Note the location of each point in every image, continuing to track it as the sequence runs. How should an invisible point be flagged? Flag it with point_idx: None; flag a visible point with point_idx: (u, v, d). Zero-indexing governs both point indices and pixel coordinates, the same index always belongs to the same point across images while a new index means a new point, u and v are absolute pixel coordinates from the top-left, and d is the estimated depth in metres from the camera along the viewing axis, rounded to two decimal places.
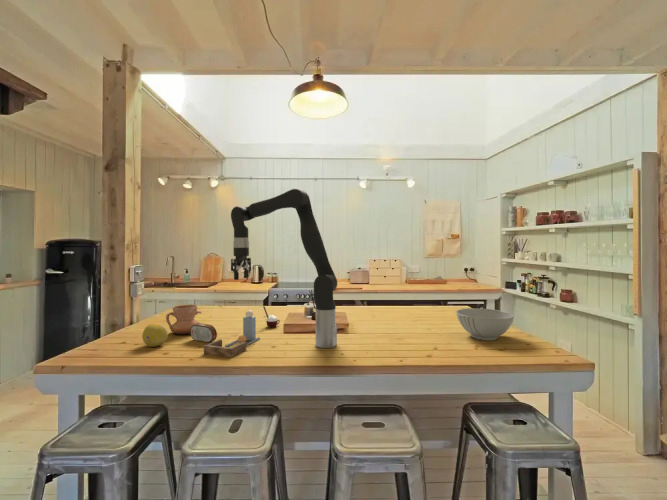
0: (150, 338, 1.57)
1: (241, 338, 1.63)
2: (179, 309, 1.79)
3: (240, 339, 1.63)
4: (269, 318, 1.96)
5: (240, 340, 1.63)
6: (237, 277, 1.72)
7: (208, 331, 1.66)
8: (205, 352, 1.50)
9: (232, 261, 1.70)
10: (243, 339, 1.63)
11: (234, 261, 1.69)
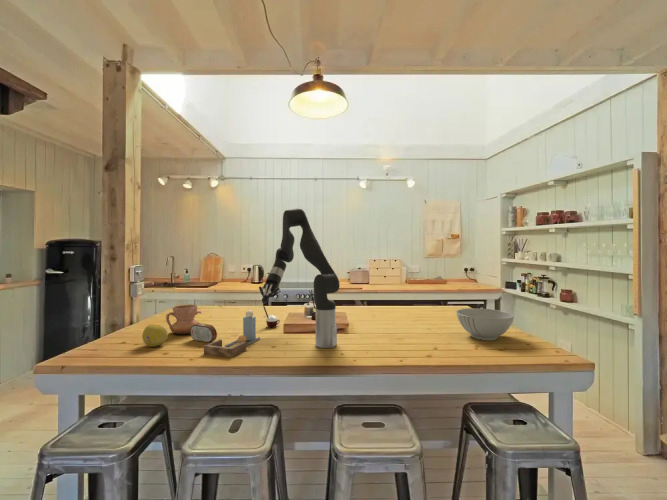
0: (150, 338, 1.57)
1: (241, 338, 1.63)
2: (179, 309, 1.79)
3: (240, 339, 1.63)
4: (269, 318, 1.96)
5: (240, 340, 1.63)
6: (262, 299, 1.84)
7: (208, 331, 1.66)
8: (205, 352, 1.50)
9: (260, 290, 1.91)
10: (243, 339, 1.63)
11: None
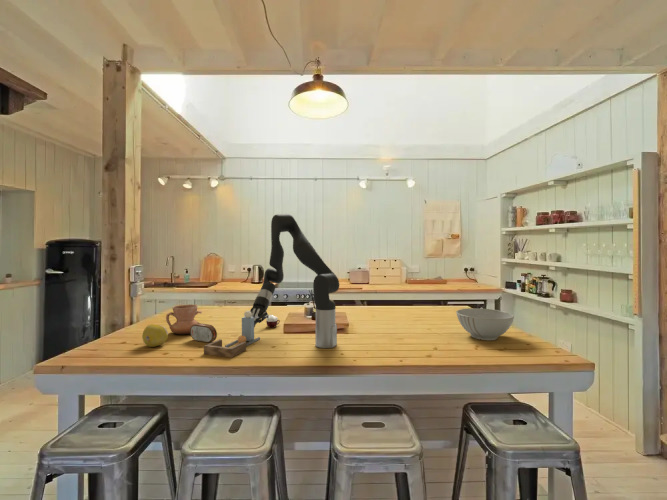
0: (150, 338, 1.57)
1: (241, 338, 1.63)
2: (179, 309, 1.79)
3: (240, 339, 1.63)
4: (269, 318, 1.96)
5: (240, 340, 1.63)
6: None
7: (208, 331, 1.66)
8: (205, 352, 1.50)
9: None
10: (243, 339, 1.63)
11: None
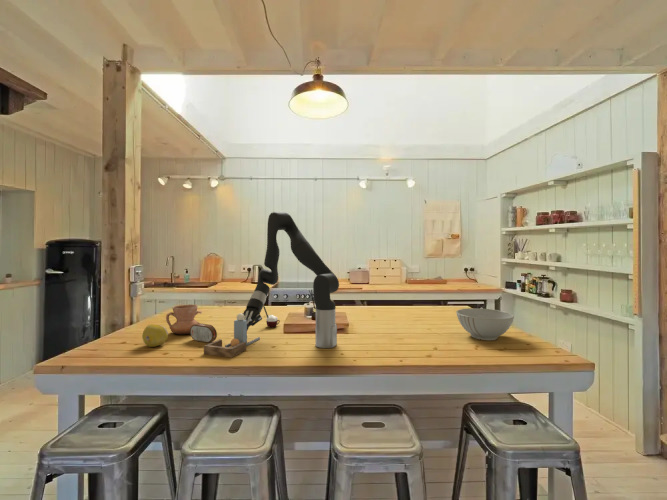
0: (150, 338, 1.57)
1: None
2: (179, 309, 1.79)
3: None
4: (269, 318, 1.96)
5: None
6: None
7: (208, 331, 1.66)
8: (205, 352, 1.50)
9: None
10: None
11: None
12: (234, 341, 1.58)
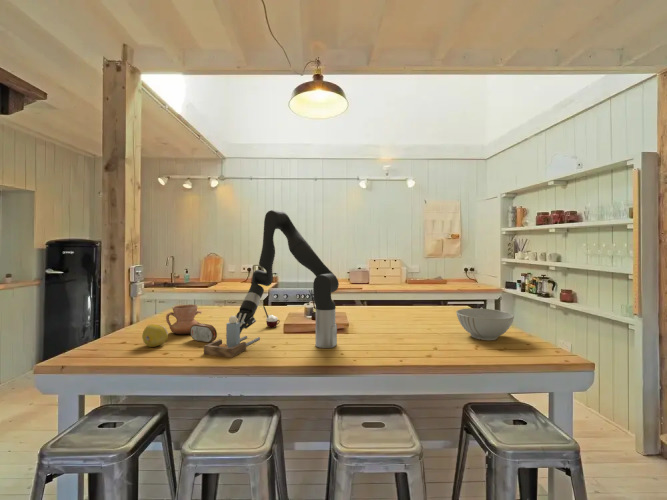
0: (150, 338, 1.57)
1: None
2: (179, 309, 1.79)
3: None
4: (269, 318, 1.96)
5: None
6: None
7: (208, 331, 1.66)
8: (205, 352, 1.50)
9: None
10: None
11: None
12: None
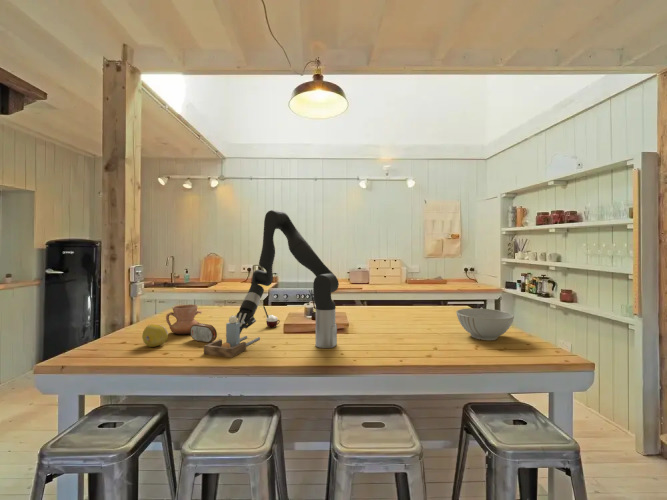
0: (150, 338, 1.57)
1: (225, 345, 1.52)
2: (179, 309, 1.79)
3: (224, 346, 1.52)
4: (269, 318, 1.96)
5: None
6: None
7: (208, 331, 1.66)
8: (205, 352, 1.50)
9: None
10: (227, 346, 1.52)
11: None
12: None
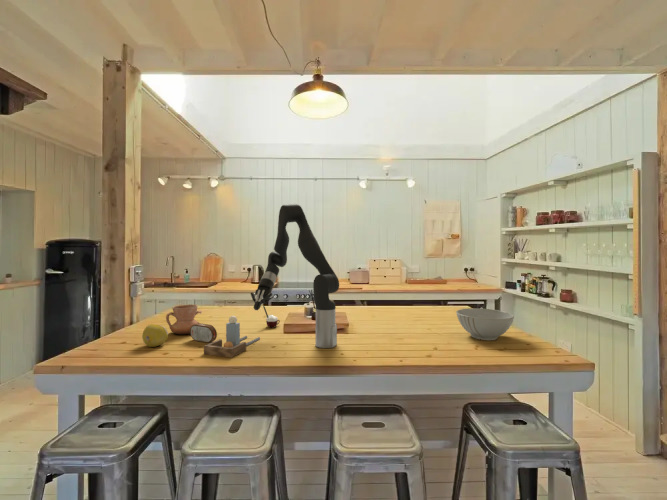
0: (150, 338, 1.57)
1: (230, 342, 1.55)
2: (179, 309, 1.79)
3: (228, 342, 1.54)
4: (269, 318, 1.96)
5: (228, 342, 1.54)
6: (254, 306, 1.74)
7: (208, 331, 1.66)
8: (205, 352, 1.50)
9: (252, 296, 1.81)
10: (231, 343, 1.54)
11: (251, 295, 1.81)
12: None
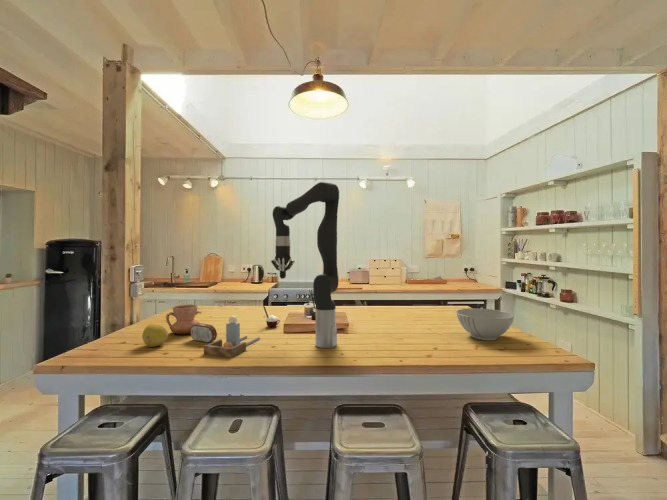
0: (150, 338, 1.57)
1: (229, 342, 1.54)
2: (179, 309, 1.79)
3: (227, 342, 1.54)
4: (269, 318, 1.96)
5: (227, 343, 1.54)
6: (280, 276, 1.82)
7: (208, 331, 1.66)
8: (205, 352, 1.50)
9: None
10: (230, 344, 1.54)
11: None
12: None
